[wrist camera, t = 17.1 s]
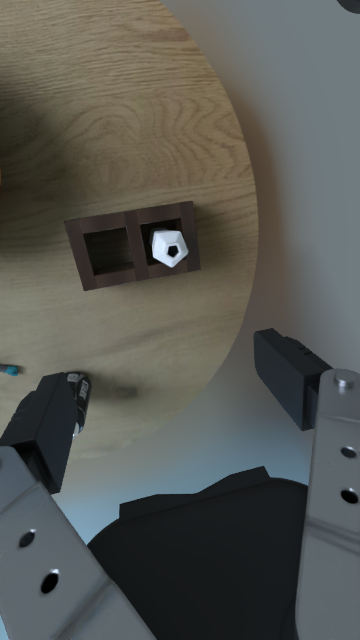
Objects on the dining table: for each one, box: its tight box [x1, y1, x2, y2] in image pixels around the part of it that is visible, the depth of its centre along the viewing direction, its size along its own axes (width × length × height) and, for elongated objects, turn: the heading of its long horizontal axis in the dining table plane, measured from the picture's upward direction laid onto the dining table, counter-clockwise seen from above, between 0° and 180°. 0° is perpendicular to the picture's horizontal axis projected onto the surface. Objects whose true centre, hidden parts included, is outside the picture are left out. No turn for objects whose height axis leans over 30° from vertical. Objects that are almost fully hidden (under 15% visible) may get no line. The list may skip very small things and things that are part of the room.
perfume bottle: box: [149, 227, 188, 267], centre depth 40 cm, size 5×4×15 cm
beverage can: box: [65, 372, 91, 440], centre depth 48 cm, size 7×7×12 cm
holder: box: [64, 201, 201, 291], centre depth 44 cm, size 18×10×6 cm, turn 98°
